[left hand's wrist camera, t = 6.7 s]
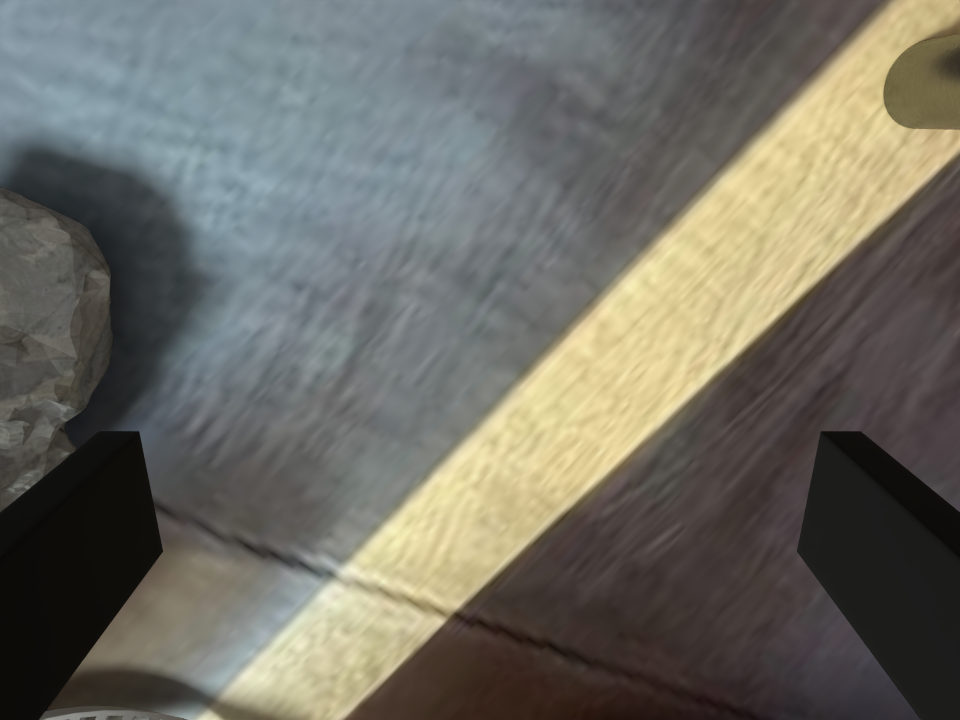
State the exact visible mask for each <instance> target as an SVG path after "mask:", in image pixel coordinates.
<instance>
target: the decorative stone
mask: <svg viewBox="0 0 960 720" xmlns="http://www.w3.org/2000/svg"><path fill="white" fill-rule="evenodd" d="M110 280H111V273H110V269H109V266H108V264H107V262H106V260H105V258H104V256H103V254H102V252H101V251H100V249H99V247H98V246H97V244H96V242H95V240H94V239H93V237H92V235H91V234H90V231H89V229H88V228H86V227H85V226H83V225H82V224H81V223H79V222H77V221H75V220H73V219H71V218H69V217H66V216H64V215H62V214H60V213H58V212H56V211H54V210H51V209H49V208H47V207H45V206H43V205H40V204H38V203H36V202H33V201H31V200H28V199H26V198H25V197H23V196H22V195H20V194H18V193H15V192H12V191H9V190H6V189H3V188H0V512H1V511H2V510H4V509H5V508H6V507H7V506H9V505H10V504H11V503H12V502H13V501H15V500H16V499H17V498H18V497H20V496H21V495H22V494H23V493H25V492H26V491H27V490H28V489H29V488H31V487H32V486H33V485H34V484H36V483H37V482H38V481H39V480H40V479H42V478H43V477H44V476H45V475H47V474H48V473H49V472H50V471H51V470H53V469H54V468H55V467H56V466H58V465H59V464H60V463H61V462H62V461H64V460H65V459H66V458H67V457H68V456H69V455H70V454H71V453H73V452H75V449H76V447H75V446H74V445H73V444H72V443H71V441H70V440H69V439H68V436H67V432H66V431H65V430H64V429H65V422H67V421H69V420H70V419H71V418H73V417H74V416H76V415H77V414H79V413H80V412H82V411H83V410H84V409H85V408H86V407H87V405H88V403H89V400H90V397H91V394H92V392H93V391H94V390H95V388H96V387H97V386H98V384H99V383H100V381H101V379H102V378H103V376H104V374H105V372H106V371H107V368H108V366H109V364H110V362H111V347H112V344H113V334H112V329H111V312H110V303H112V300H111V298H110V295H109V292H110Z"/></svg>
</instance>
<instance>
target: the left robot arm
mask: <svg viewBox="0 0 960 720" xmlns="http://www.w3.org/2000/svg"><path fill="white" fill-rule="evenodd" d="M162 552H163V549H162V544H161V539H160V534H159V529H158V524H157V519H156V514H155V509H154V504H153V499H152V494H151V489H150V483H149V478H148V473H147V468H146V463H145V458H144V453H143V448H142V443H141V438H140V433H139V431H99V432H98V433H97V434H96V435H94V436H93V437H92V438H91V439H89V440H88V441H87V442H86V443H85V444H83V445H82V446H81V447H80V448H78V449H77V450H76V451H75V452H74V453H72V454H71V455H70V456H69V457H67V458H66V459H65V460H64V461H62V462H61V463H60V464H59V465H58V466H56V467H55V468H54V469H53V470H51V471H50V472H49V473H48V474H47V475H45V476H44V477H43V478H42V479H40V480H39V481H38V482H37V483H36V484H34V485H33V486H32V487H31V488H29V489H28V490H27V491H26V492H25V493H23V494H22V495H21V496H20V497H18V498H17V499H16V500H15V501H13V502H12V503H11V504H10V505H9V506H7V507H6V508H5V509H4V510H2V511H1V512H0V720H39V719H40V718H41V717H42V715H43V714H44V712H45V711H46V710H47V708H48V707H49V706H50V704H51V703H52V702H53V700H54V699H55V698H56V696H57V695H58V693H59V692H60V691H61V689H62V688H63V687H64V685H65V684H66V683H67V681H68V680H69V679H70V677H71V676H72V674H73V673H74V672H75V670H76V669H77V668H78V666H79V665H80V664H81V662H82V661H83V660H84V658H85V657H86V655H87V654H88V653H89V651H90V650H91V649H92V647H93V646H94V645H95V643H96V642H97V640H98V639H99V638H100V636H101V635H102V634H103V632H104V631H105V630H106V628H107V627H108V626H109V624H110V623H111V621H112V620H113V619H114V617H115V616H116V615H117V613H118V612H119V611H120V609H121V608H122V607H123V605H124V604H125V602H126V601H127V600H128V598H129V597H130V596H131V594H132V593H133V592H134V590H135V589H136V587H137V586H138V585H139V583H140V582H141V581H142V579H143V578H144V577H145V575H146V574H147V573H148V571H149V570H150V568H151V567H152V566H153V564H154V563H155V562H156V560H157V559H158V558H159V556H160V555H161V554H162ZM797 552H798V554H799V555H800V556H801V558H802V559H803V560H804V562H805V563H806V564H807V566H808V567H809V568H810V570H811V571H812V573H813V574H814V575H815V577H816V578H817V579H818V581H819V582H820V583H821V585H822V586H823V587H824V589H825V590H826V592H827V593H828V594H829V596H830V597H831V598H832V600H833V601H834V602H835V604H836V605H837V607H838V608H839V609H840V611H841V612H842V613H843V615H844V616H845V617H846V619H847V620H848V621H849V623H850V624H851V626H852V627H853V628H854V630H855V631H856V632H857V634H858V635H859V636H860V638H861V639H862V640H863V642H864V643H865V645H866V646H867V647H868V649H869V650H870V651H871V653H872V654H873V655H874V657H875V658H876V660H877V661H878V662H879V664H880V665H881V666H882V668H883V669H884V670H885V672H886V673H887V674H888V676H889V677H890V679H891V680H892V681H893V683H894V684H895V685H896V687H897V688H898V689H899V691H900V692H901V693H902V695H903V696H904V698H905V699H906V700H907V702H908V703H909V704H910V706H911V707H912V708H913V710H914V711H915V713H916V714H917V715H918V717H919V718H920V719H921V720H960V512H959V511H958V510H956V509H955V508H954V507H953V506H951V505H950V504H949V503H948V502H947V501H945V500H944V499H943V498H942V497H940V496H939V495H938V494H937V493H935V492H934V491H933V490H932V489H931V488H929V487H928V486H927V485H926V484H924V483H923V482H922V481H921V480H920V479H918V478H917V477H916V476H915V475H913V474H912V473H911V472H910V471H909V470H907V469H906V468H905V467H904V466H902V465H901V464H900V463H899V462H898V461H896V460H895V459H894V458H893V457H891V456H890V455H889V454H888V453H886V452H885V451H884V450H883V449H882V448H880V447H879V446H878V445H877V444H875V443H874V442H873V441H872V440H871V439H869V438H868V437H867V436H866V435H864V434H863V433H862V432H861V431H821V433H820V438H819V443H818V448H817V453H816V458H815V463H814V468H813V473H812V478H811V483H810V489H809V494H808V499H807V504H806V509H805V514H804V519H803V524H802V529H801V534H800V539H799V544H798V549H797Z"/></svg>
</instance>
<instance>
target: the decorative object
mask: <svg viewBox="0 0 960 720" xmlns="http://www.w3.org/2000/svg"><path fill="white" fill-rule="evenodd" d="M93 716H96V719H95V720H110V716H123V718H122V720H134V719H135V716H136V717H147V718H150V719H149V720H160V719H161V720H187V719H184V718H179V717H174V716H169V715H165V714H161V713H158V712H152V711H147V710H142V709H136V708H128V707H116V706H80V707H71V708H62V709H54V710H50V711H45V712H44V714H43V715H42V717H41V718H40V719H39V720H67V719H69V720H86V717H93Z"/></svg>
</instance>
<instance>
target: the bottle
mask: <svg viewBox="0 0 960 720" xmlns="http://www.w3.org/2000/svg"><path fill="white" fill-rule="evenodd" d="M884 103H885V106H886V109H887V111H888V113H889V115H890V116H891V118H892V119H893V120H894V121H895V122H897V123H898V124H900V125H902V126H904V127H907V128H912V129H955V130H960V34H957V35H951V36H946V37H940V38H935V39H929V40H925V41H922V42H919V43H917V44H915V45H913V46H911V47H910V48H909V49H907V50H906V51H905V52H904V53H902V54H901V55H900V56H899V58H898V59H897V60H896V61H895V63H894V64H893V65H892V67H891V69H890V71H889V73H888V75H887V78H886V81H885V85H884Z"/></svg>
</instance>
